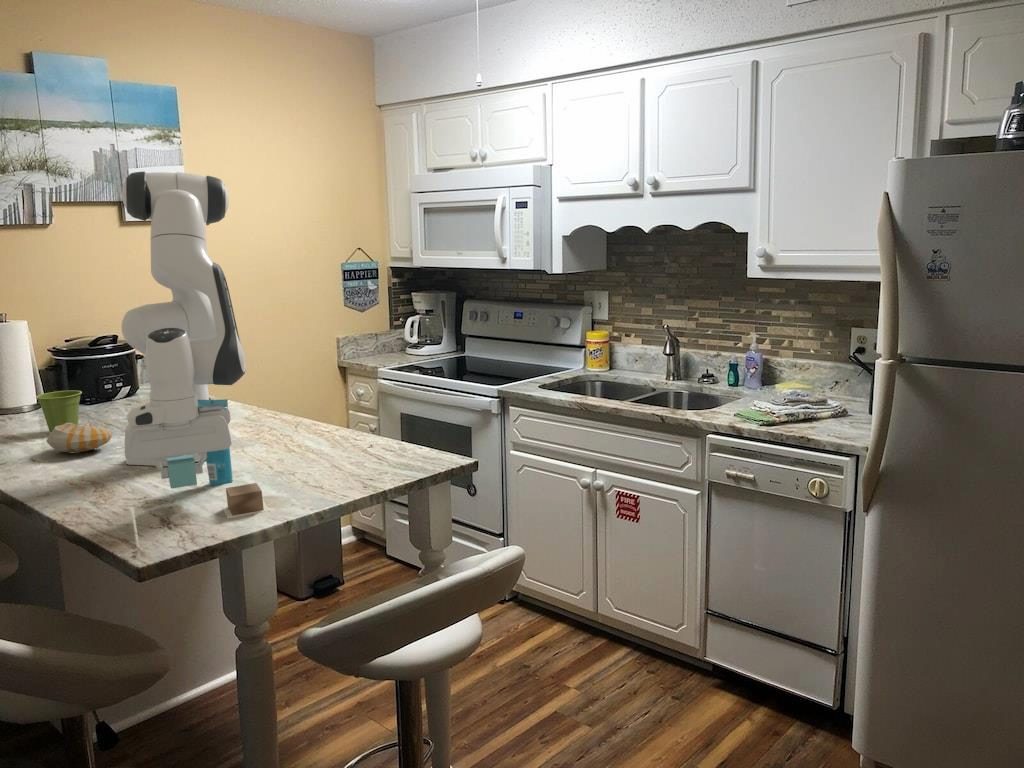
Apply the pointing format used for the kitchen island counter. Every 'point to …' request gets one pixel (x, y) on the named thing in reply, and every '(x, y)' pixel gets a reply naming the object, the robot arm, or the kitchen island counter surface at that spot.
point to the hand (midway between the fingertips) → (182, 475)
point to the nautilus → (77, 437)
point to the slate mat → (245, 513)
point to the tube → (218, 454)
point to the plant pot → (60, 407)
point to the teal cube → (182, 471)
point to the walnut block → (244, 499)
